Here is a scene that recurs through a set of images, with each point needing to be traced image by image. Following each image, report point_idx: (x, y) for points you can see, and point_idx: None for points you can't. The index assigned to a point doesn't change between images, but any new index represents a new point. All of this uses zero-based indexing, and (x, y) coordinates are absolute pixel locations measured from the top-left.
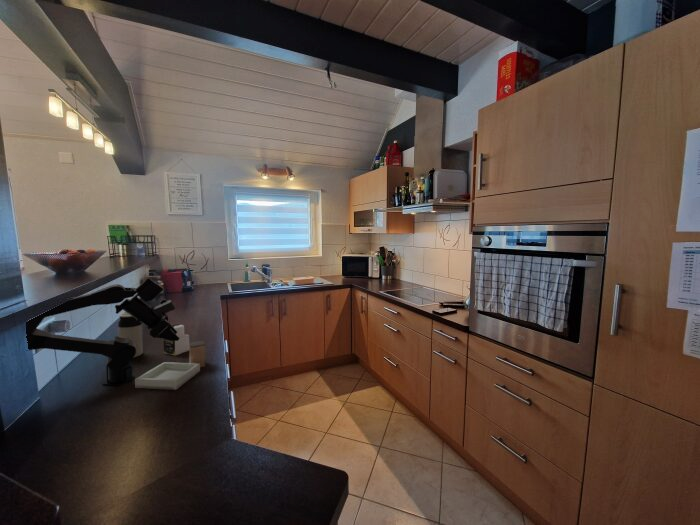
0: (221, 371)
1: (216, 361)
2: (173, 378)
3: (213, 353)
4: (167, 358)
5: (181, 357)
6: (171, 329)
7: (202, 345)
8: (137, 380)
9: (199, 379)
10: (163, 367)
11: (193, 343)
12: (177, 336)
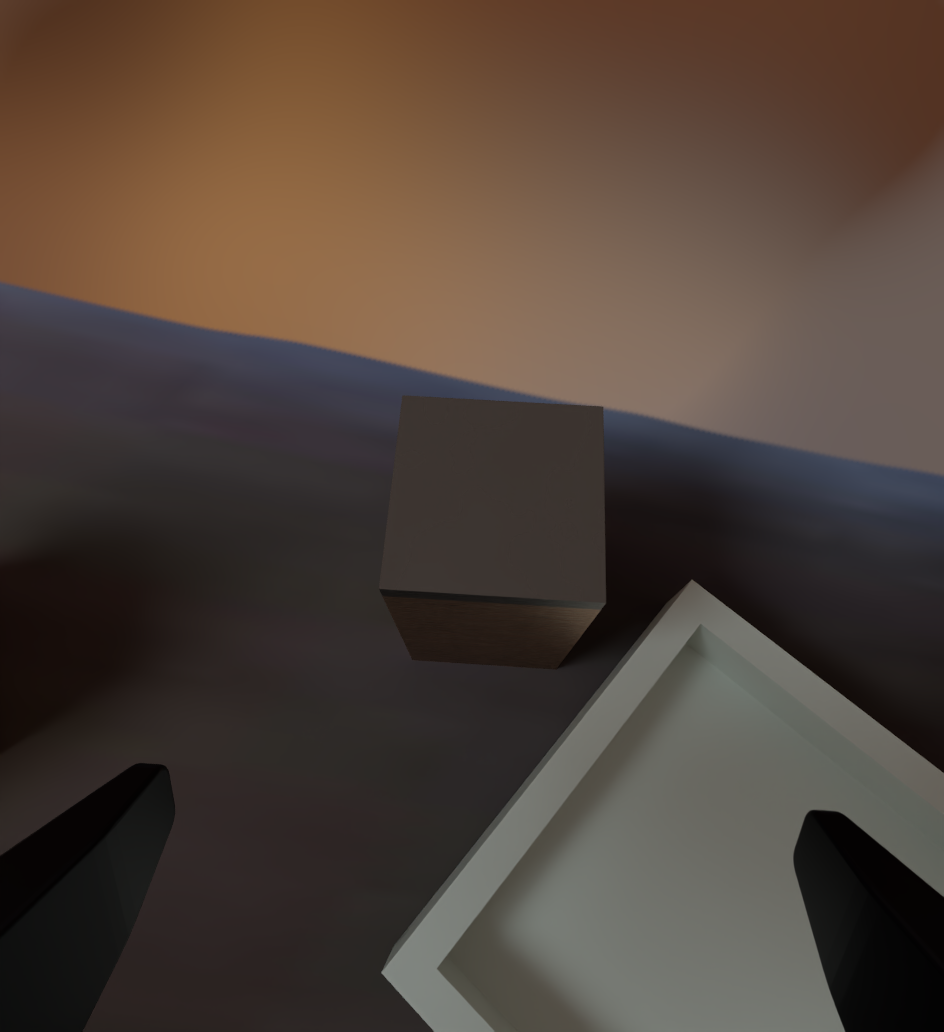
0: (766, 446)
1: None
2: None
3: (248, 396)
4: None
5: (117, 694)
6: (56, 947)
7: (599, 448)
8: None
9: (869, 648)
10: (457, 976)
11: (472, 539)
12: (917, 878)
